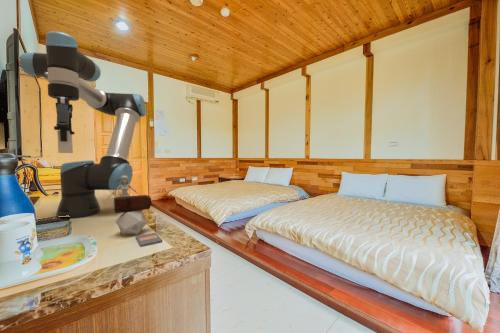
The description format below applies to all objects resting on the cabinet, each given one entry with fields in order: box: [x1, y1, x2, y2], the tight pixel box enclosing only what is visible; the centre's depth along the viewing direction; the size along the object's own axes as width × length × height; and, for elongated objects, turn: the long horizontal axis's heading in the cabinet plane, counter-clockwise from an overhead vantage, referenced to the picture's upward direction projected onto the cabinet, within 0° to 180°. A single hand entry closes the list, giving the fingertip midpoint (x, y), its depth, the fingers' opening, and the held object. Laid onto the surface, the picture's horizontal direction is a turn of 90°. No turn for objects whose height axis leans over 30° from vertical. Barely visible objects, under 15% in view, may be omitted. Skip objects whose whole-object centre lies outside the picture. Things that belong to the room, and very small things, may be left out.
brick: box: [113, 194, 152, 214], centre depth 74 cm, size 11×4×5 cm, turn 127°
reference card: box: [135, 232, 163, 248], centre depth 68 cm, size 8×6×1 cm
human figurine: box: [106, 176, 141, 215], centre depth 87 cm, size 12×4×18 cm, turn 123°
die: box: [115, 210, 148, 235], centre depth 74 cm, size 8×9×10 cm
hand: (66, 153), depth 71 cm, fingers open, 13 cm apart
